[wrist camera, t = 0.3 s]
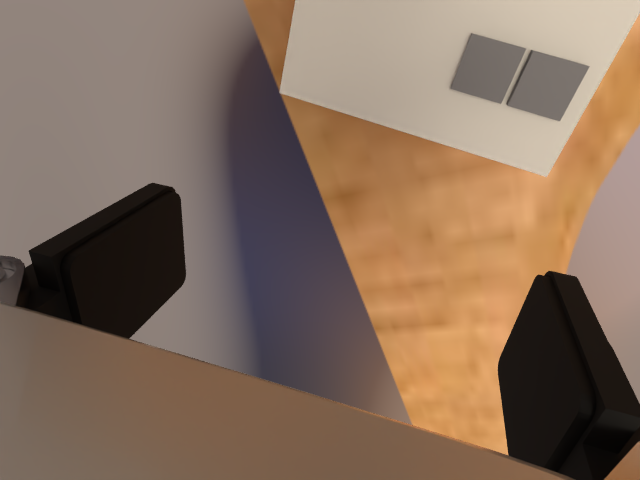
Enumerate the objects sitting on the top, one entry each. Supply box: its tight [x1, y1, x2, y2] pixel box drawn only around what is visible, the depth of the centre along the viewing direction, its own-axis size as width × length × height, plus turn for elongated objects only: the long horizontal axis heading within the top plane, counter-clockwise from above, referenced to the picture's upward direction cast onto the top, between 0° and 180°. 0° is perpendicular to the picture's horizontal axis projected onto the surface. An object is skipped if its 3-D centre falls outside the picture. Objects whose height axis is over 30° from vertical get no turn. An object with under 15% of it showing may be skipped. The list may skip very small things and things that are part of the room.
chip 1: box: [451, 33, 526, 104], centre depth 32 cm, size 4×4×1 cm
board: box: [279, 0, 640, 177], centre depth 33 cm, size 13×24×2 cm, turn 77°
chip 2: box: [506, 50, 590, 121], centre depth 31 cm, size 4×4×1 cm
